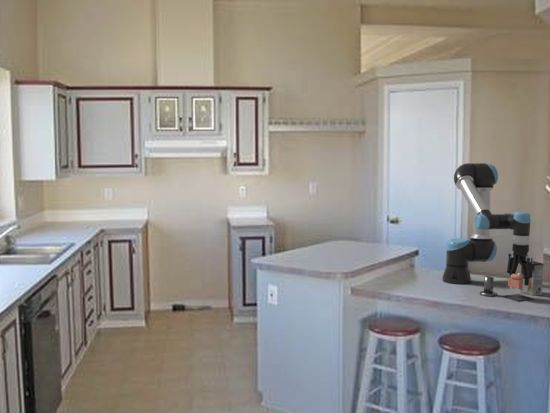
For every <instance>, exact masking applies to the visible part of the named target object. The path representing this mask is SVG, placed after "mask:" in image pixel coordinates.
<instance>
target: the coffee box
mask: <svg viewBox="0 0 550 413" xmlns="http://www.w3.org/2000/svg"><path fill="white" fill-rule="evenodd" d="M520 266H521V265H520ZM520 273H521V274H523V271H522V266H521V271H520ZM532 274H533V277H532V278H529V280H530V288H528V292H522V289H519V292H521V293H524V294H527V295H529V294H530V295H529V296H541V295H542V293H543V280H544V279H543V278H544V263H543V262H538V261H534V260H532Z"/></svg>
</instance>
